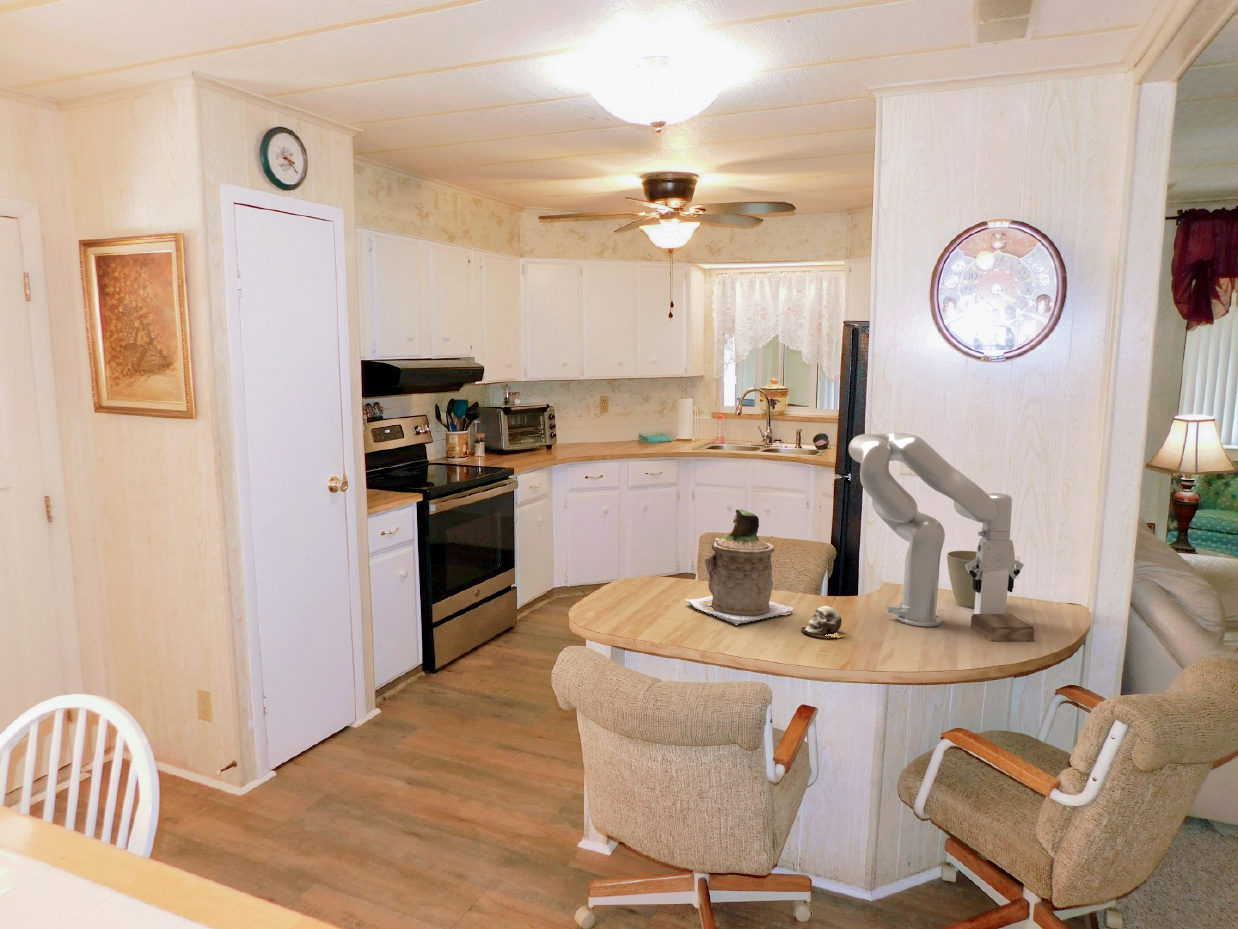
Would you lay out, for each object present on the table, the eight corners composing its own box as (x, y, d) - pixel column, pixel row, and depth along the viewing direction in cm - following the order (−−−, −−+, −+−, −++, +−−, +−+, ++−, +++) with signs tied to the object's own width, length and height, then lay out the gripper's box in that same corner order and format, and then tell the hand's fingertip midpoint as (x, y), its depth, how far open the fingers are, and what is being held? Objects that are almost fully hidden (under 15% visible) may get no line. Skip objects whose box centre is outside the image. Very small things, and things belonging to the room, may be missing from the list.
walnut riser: (991, 641, 228) (992, 627, 228) (970, 627, 240) (971, 613, 240) (1033, 641, 229) (1034, 627, 228) (1010, 627, 241) (1011, 613, 240)
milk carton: (1004, 624, 243) (1010, 561, 241) (979, 622, 245) (984, 559, 242) (998, 616, 250) (1003, 555, 248) (973, 615, 252) (978, 554, 249)
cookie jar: (796, 614, 249) (801, 510, 245) (736, 628, 236) (740, 518, 231) (741, 594, 270) (744, 497, 265) (682, 606, 256) (685, 504, 252)
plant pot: (969, 596, 272) (973, 548, 270) (1004, 609, 258) (1009, 559, 256) (933, 600, 267) (936, 551, 265) (967, 613, 253) (971, 562, 251)
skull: (814, 639, 224) (804, 604, 230) (802, 653, 233) (792, 620, 238) (855, 635, 227) (843, 601, 233) (841, 649, 235) (830, 616, 241)
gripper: (973, 538, 240) (970, 595, 242) (1031, 537, 241) (1027, 594, 243) (961, 532, 247) (958, 588, 250) (1017, 532, 248) (1014, 587, 251)
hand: (992, 591), depth 246 cm, fingers open, 9 cm apart
